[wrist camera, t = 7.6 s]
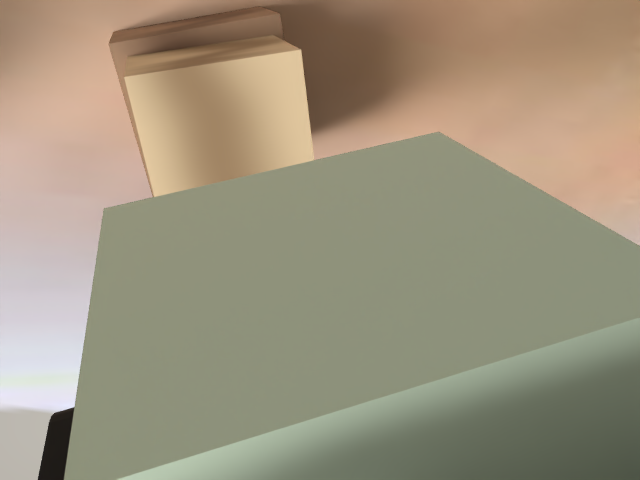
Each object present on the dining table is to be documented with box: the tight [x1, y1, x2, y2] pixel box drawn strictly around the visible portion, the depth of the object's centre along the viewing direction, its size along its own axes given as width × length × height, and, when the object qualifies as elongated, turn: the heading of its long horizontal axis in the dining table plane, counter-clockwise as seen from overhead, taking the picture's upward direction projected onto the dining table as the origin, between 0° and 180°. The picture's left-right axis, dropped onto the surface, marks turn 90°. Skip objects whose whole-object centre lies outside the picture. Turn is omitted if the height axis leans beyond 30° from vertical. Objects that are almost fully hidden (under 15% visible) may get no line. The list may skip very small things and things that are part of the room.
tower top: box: [124, 35, 314, 197], centre depth 23 cm, size 6×6×5 cm
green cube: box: [64, 132, 640, 480], centre depth 9 cm, size 6×6×6 cm
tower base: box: [109, 6, 284, 197], centre depth 28 cm, size 7×7×5 cm
